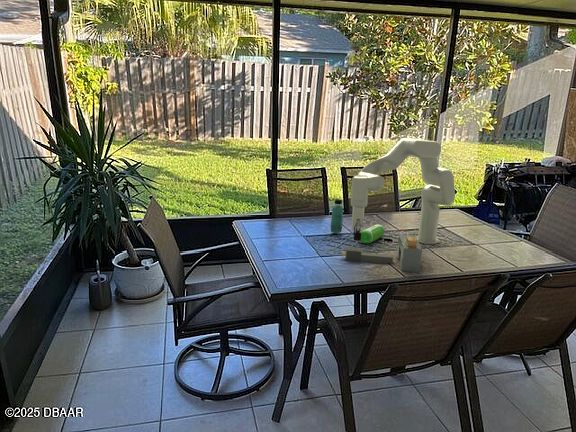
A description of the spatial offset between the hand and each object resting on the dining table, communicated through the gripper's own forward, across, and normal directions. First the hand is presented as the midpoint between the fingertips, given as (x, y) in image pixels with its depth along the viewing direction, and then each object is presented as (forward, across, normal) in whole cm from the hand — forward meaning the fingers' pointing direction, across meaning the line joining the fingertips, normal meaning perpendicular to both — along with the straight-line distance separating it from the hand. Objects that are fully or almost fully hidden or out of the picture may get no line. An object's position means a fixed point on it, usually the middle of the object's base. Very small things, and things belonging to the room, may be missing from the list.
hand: (357, 237), depth 201 cm
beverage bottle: (+12, -36, -11) cm, 40 cm away
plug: (+11, +1, +5) cm, 12 cm away
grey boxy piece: (+12, +1, +24) cm, 27 cm away
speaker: (+12, -30, +9) cm, 34 cm away
